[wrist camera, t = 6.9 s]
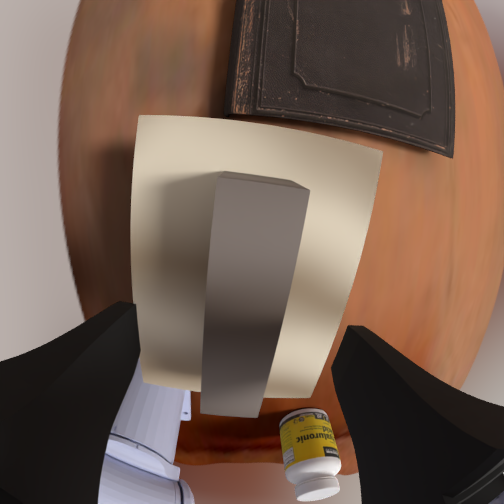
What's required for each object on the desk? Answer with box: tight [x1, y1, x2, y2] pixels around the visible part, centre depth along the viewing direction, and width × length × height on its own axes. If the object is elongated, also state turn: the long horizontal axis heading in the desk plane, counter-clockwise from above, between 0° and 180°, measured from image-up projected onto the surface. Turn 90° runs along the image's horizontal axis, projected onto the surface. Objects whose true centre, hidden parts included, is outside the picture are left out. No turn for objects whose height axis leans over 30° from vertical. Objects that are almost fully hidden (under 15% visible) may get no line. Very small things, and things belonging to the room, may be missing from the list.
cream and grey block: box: [131, 115, 383, 418], centre depth 11 cm, size 14×10×4 cm
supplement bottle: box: [280, 408, 341, 501], centre depth 21 cm, size 5×5×10 cm
